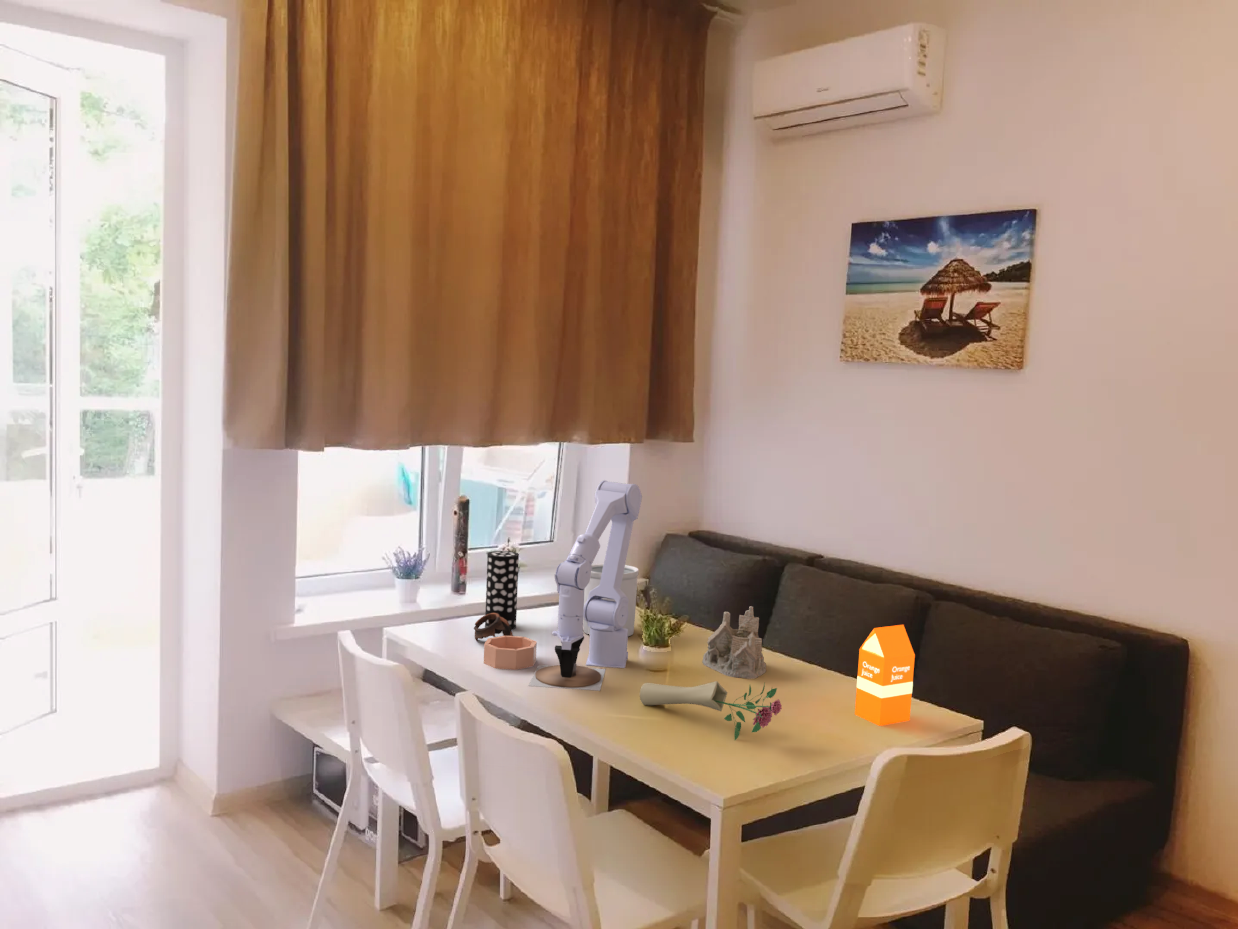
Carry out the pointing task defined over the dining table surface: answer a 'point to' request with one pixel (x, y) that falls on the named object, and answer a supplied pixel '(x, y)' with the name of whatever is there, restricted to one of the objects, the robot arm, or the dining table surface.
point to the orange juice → (885, 676)
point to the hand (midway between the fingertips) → (568, 672)
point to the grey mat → (592, 687)
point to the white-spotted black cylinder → (502, 585)
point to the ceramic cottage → (736, 648)
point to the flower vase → (709, 701)
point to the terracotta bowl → (510, 652)
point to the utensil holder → (626, 586)
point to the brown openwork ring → (492, 626)
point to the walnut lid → (578, 678)
